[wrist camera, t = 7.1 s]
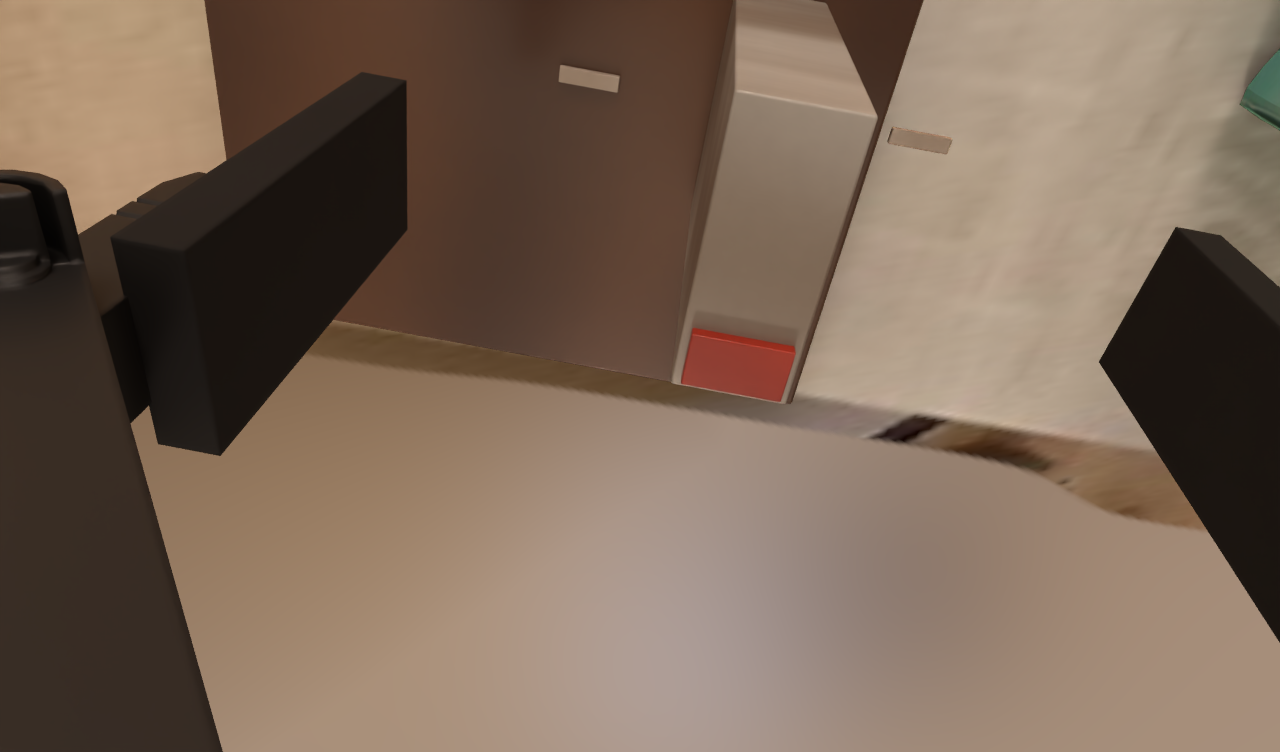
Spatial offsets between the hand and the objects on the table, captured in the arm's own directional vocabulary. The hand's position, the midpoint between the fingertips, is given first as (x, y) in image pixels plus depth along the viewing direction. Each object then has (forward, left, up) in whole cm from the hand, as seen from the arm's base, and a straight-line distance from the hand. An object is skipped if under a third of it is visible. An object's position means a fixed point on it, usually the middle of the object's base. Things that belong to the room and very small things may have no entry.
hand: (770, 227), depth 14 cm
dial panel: (-4, +4, -9) cm, 10 cm away
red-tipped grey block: (0, 0, -6) cm, 6 cm away
